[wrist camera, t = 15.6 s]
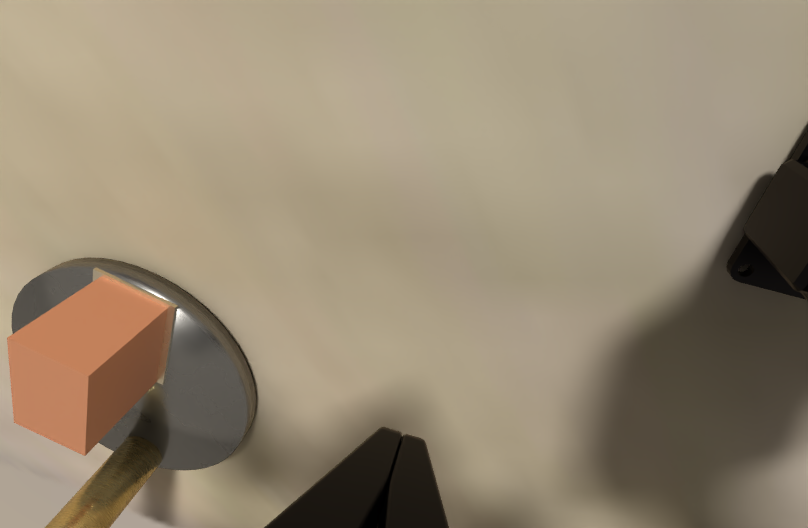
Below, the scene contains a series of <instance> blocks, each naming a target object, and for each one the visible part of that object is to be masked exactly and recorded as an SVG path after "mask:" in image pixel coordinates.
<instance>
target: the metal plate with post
mask: <svg viewBox="0 0 808 528" xmlns="http://www.w3.org/2000/svg"><path fill="white" fill-rule="evenodd" d="M99 277H103V278H106V279H108V280H110V281H112V282H114V283H116V284H118V285H120V286H123V287H125V288H127V289H129V290H131V291H133V292H135V293H137V294H139V295H142V296H144V297H146V298H148V299H150V300H152V301H154V302H156V303H159V304H161V305H163V306H165V307H167V308H168V310H167V316H166V323H165V329H164V336H163V342H162V348H161V355H160V361H159V368H158V374H157V381H156V383H155V384H154V385H153V386H152V387H151V388H150V389H149V390H148V391H147V392H146V393H145V394H144V395H143V396H142V398H141V399H140V400H139V401H138V402H137V403H136V404H135V405H134V406H133V407H132V408H131V409H130V410H129V411H128V412H127V413H126V414H125V415H124V416H123V417H122V418H121V419H120V420H119V421H118V422H117V423H116V424H115V425H114V426H113V428H112V429H111V430H110V431H109V432H108V433H107V434H106V435H105V436H104V437H103V438H102V439H101V440H100V441H99V443H100V444H102V445H104V446H105V447H107V448H109V449H111V450H113V451H114V452H113V454H112V455H111V456H110V457H109V458H108V459H107V460H106V461H105V462H104V463H103V465H102V466H101V467H100V468H99V469H98V470H97V471H96V472H95V473H94V474H93V475H92V477H91V478H90V479H89V480H88V481H87V482H86V483H85V484H84V485H83V486H82V488H81V489H80V490H79V491H78V492H77V493H76V494H75V495H74V497H72V499H71V500H70V501H69V502H68V503H67V504H66V505H65V506H64V507H63V508H62V509H61V511H60V512H59V513H58V514H57V515H56V516H55V517H54V518H53V519H52V521H51V522H50V523H49V524H48V525H47V526H46V527H45V528H110V527H111V525H112V524H113V523H114V521H115V520H116V519H117V518H118V516H119V515H120V514H121V512H122V511H123V510H124V509H125V508H126V506H127V505H128V504H129V502H130V501H131V500H132V499H133V497H134V496H135V495H136V494H137V492H138V491H139V490H140V489H141V487H142V486H143V485H144V484H145V482H146V481H147V480H148V478H149V477H150V476H151V475H152V473H153V472H154V471H155V470H156V468H157V467H159V468H165V469H172V470H197V469H202V468H207V467H210V466H213V465H215V464H218V463H219V462H221V461H223V460H225V459H226V458H227V457H228V456H229V455H231V454H232V453H233V452H234V450H235V449H236V448H237V446H238V445H239V443H240V442H241V440H242V439H243V437H244V436H245V434H246V433H247V431H248V430H249V428H250V426H251V423H252V421H253V418H254V414H255V409H256V394H255V387H254V382H253V379H252V375H251V372H250V370H249V367H248V365H247V363H246V360H245V358H244V356H243V354H242V353H241V351H240V349H239V348H238V346H237V344H236V343H235V341H234V340H233V339H232V337H231V336H230V334H229V333H228V332H227V330H226V329H225V328H224V327H223V326H222V325H221V323H220V322H219V321H218V320H217V319H216V318H215V317H214V316H213V315H212V314H211V313H210V312H209V311H208V310H207V309H206V308H205V307H204V306H203V305H202V304H201V303H199V302H198V301H197V300H195V299H194V298H193V297H192V296H190V295H189V294H188V293H187V292H185V291H184V290H182V289H181V288H179V287H177V286H176V285H174V284H173V283H171V282H170V281H168V280H166V279H164V278H162V277H160V276H158V275H156V274H155V273H152V272H150V271H148V270H145V269H143V268H140V267H138V266H135V265H132V264H128V263H125V262H121V261H117V260H111V259H105V258H81V259H74V260H70V261H67V262H63V263H61V264H59V265H57V266H55V267H53V268H51V269H50V270H48V271H46V272H44V273H43V274H41V275H39V276H37V277H36V278H34V279H32V280H31V281H30V282H29V283H28V284H26V285H25V286H24V287H23V289H22V290H21V291H20V293H19V294H18V296H17V299H16V301H15V303H14V307H13V312H12V331H13V334H14V333H15V332H17V331H18V330H20V329H21V328H23V327H24V326H26V325H28V324H29V323H31V322H32V321H34V320H35V319H37V318H38V317H40V316H41V315H43V314H44V313H46V312H47V311H49V310H50V309H52V308H53V307H55V306H56V305H58V304H60V303H61V302H63V301H64V300H66V299H67V298H69V297H70V296H72V295H73V294H75V293H76V292H78V291H79V290H81V289H82V288H84V287H85V286H87V285H89V284H90V283H92V282H93V281H95V280H96V279H98V278H99Z"/></svg>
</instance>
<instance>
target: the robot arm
mask: <svg viewBox="0 0 808 528" xmlns="http://www.w3.org/2000/svg"><path fill="white" fill-rule="evenodd" d="M744 231H745V235H744V236H743V238H742V240H741V241H740V243H739V245H738V246H737V248H736V250H735V251H734V253H733V255H732V256H731V258H730V260H729V261H728V264H727V271H728V273H729V274H730V275H731V277H732V278H733V279H734V280H736V281H738V282H741V283H745V284H749V285H753V286H757V287H760V288H764V289H768V290H772V291H776V292H780V293H784V294H787V295H791V296H795V297H799V298H803V299H806V300H807V301H808V131H807V133H806V134H805V136H804V138H803V139H802V141H801V142H800V144H799V146H798V147H797V149H796V151H795V152H794V154H793V156H792V157H791V159H790V160H789V161H787V162H785V163H783V164H782V165H781V166H780V168H779V169H778V171H777V173H776V174H775V176H774V178H773V179H772V181H771V183H770V184H769V186H768V188H767V189H766V191H765V193H764V194H763V196H762V198H761V199H760V201H759V203H758V204H757V206H756V208H755V209H754V211H753V213H752V214H751V216H750V218H749V219H748V221H747V223H746V224H745V226H744ZM745 264H748V265H750V266H749V268H748V269H747V270H745V271H738V269H739V268H740V267H741V266H743V265H745ZM401 439H402V440H401ZM264 528H449V526H448V522H447V519H446V515H445V511H444V508H443V504H442V500H441V497H440V493H439V489H438V486H437V482H436V478H435V475H434V471H433V468H432V464H431V460H430V457H429V453H428V449H427V446H426V443H425V441H424V440H423V439H421V438H418V437H415V436H412V435H408V434H405V435H403V437H402V434H401V432H399V431H395V430H392V429H389V428H386V427H381V428H380V429H378V430H377V431H376V432H375V433H374V434H373V435H371V436H370V437H369V438H368V439H367V440H366V441H364V442H363V443H362V444H361V445H360V446H359V447H357V448H356V449H355V450H354V451H353V452H352V453H350V454H349V455H348V456H347V457H346V458H345V459H343V460H342V461H341V462H340V463H339V464H338V465H336V466H335V467H334V468H333V469H332V470H331V471H329V472H328V473H327V474H326V475H325V476H324V477H322V478H321V479H320V480H319V481H318V482H317V483H315V484H314V485H313V486H312V487H311V488H310V489H309V490H307V491H306V492H305V493H304V494H303V495H302V496H300V497H299V498H298V499H297V500H296V501H295V502H293V503H292V504H291V505H290V506H289V507H288V508H286V509H285V510H284V511H283V512H282V513H281V514H279V515H278V516H277V517H276V518H275V519H274V520H272V521H271V522H270V523H269V524H268V525H267V526H265V527H264Z"/></svg>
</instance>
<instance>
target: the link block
mask: <svg viewBox="0 0 808 528" xmlns="http://www.w3.org/2000/svg"><path fill="white" fill-rule="evenodd" d="M167 310H168V308H167V307H165V306H163V305H161V304H159V303H156V302H154V301H152V300H150V299H148V298H146V297H144V296H142V295H139V294H137V293H135V292H133V291H131V290H129V289H127V288H125V287H123V286H120V285H118V284H116V283H114V282H112V281H110V280H108V279H106V278H103V277H99V278H98V279H96V280H95V281H93V282H92V283H90V284H89V285H87V286H85V287H84V288H82V289H81V290H79V291H78V292H76V293H75V294H73V295H72V296H70V297H69V298H67V299H66V300H64V301H63V302H61V303H60V304H58V305H56V306H55V307H53V308H52V309H50V310H49V311H47V312H46V313H44V314H43V315H41V316H40V317H38V318H37V319H35V320H34V321H32V322H31V323H29V324H28V325H26V326H24V327H23V328H21V329H20V330H18V331H17V332H15V333H14V334H12V335H11V336H9V337H8V338H7V342H8V354H9V366H10V378H11V390H12V402H13V414H14V423H16V424H18V425H21V426H23V427H25V428H27V429H29V430H31V431H33V432H35V433H38V434H40V435H42V436H44V437H46V438H48V439H50V440H52V441H54V442H57V443H59V444H61V445H63V446H65V447H67V448H69V449H71V450H74V451H76V452H78V453H80V454H82V455H84V456H85V455H86V454H87V453H88V452H89V451H90V450H91V449H92V448H93V447H94V446H95V445H96V444H97V443H98V442H99V441H100V440H101V439H102V438H103V437H104V436H105V435H106V434H107V433H108V432H109V431H110V430H111V429H112V428H113V426H114V425H115V424H116V423H117V422H118V421H119V420H120V419H121V418H122V417H123V416H124V415H125V414H126V413H127V412H128V411H129V410H130V409H131V408H132V407H133V406H134V405H135V404H136V403H137V402H138V401H139V400H140V399H141V398H142V396H143V395H144V394H145V393H146V392H147V391H148V390H149V389H150V388H151V387H152V386H153V385H154V384H155V383H156V381H157V374H158V368H159V361H160V355H161V348H162V342H163V336H164V329H165V323H166V316H167Z"/></svg>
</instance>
